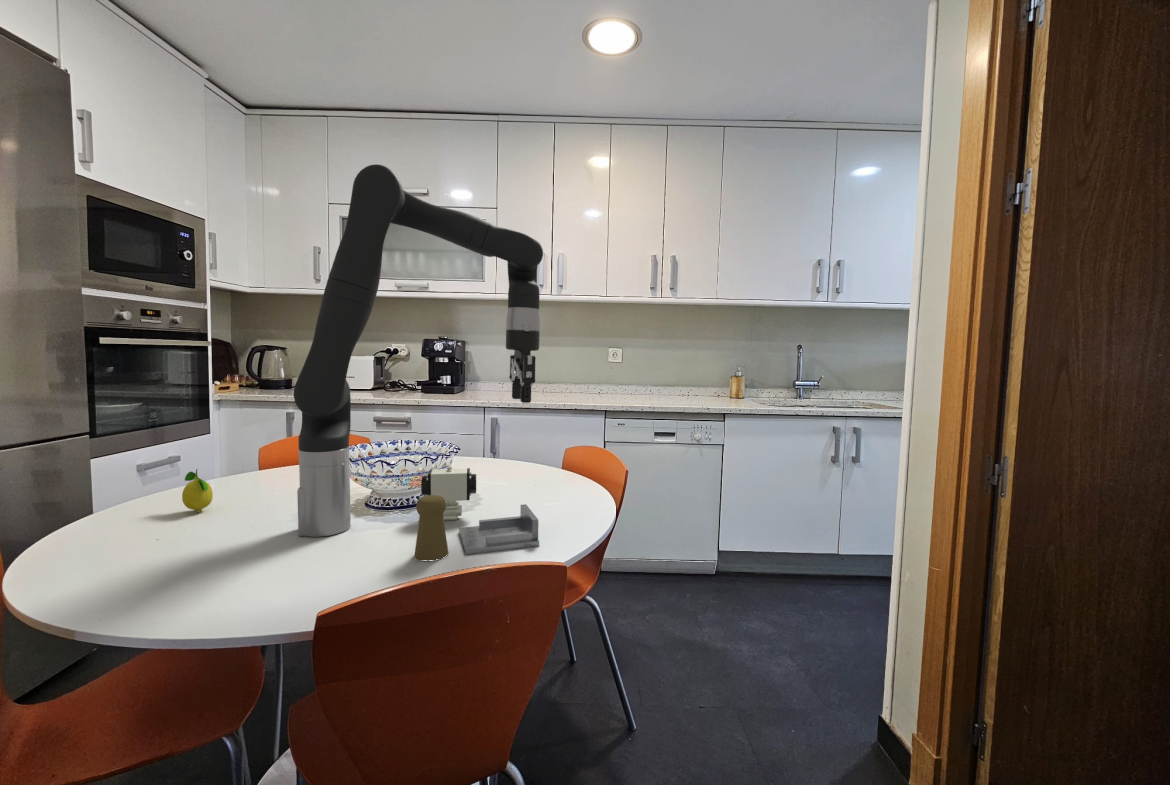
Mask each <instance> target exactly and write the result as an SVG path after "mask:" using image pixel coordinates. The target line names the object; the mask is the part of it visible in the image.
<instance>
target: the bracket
mask: <svg viewBox="0 0 1170 785" xmlns="http://www.w3.org/2000/svg"><path fill="white" fill-rule="evenodd" d="M519 514H520V515H519V516H508V517H498V518H497V517H496V518H487V519H479V520H478V525H475V526H466V527H465V526H464V527H458V534H459V537H460V540H461V543H463V544H462V546H464V547H463V549H465V550H464V553H465V552H466V553H465V555H466V554H468V555H474V554H473V553H477V554H482V553H481V552H485V553H490V552H489V551H493V552H499V551H498V550H502V551H507V550H506V549H510V550H516V549H515V548H518V549H524V548H523V547H527V548H531V547H530V546H535V547H540V540H539V518H538V517H537V516H536V515H535V513H534V512H533V511H532V509H530V507H529V506H528V505H527V504H524V503H523V504H520V513H519Z"/></svg>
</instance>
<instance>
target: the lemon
mask: <svg viewBox="0 0 1170 785" xmlns="http://www.w3.org/2000/svg"><path fill="white" fill-rule="evenodd" d="M184 481H186V482H188V483H187V484H186V485H185V487H184V488H183V490H182V495H181V499H182V503H183V505H184V506H185V507H186V508H187V509H190V510H193V511H194V512H196V511H200V512H201V511H202V510H203V509H205V508H207V507H208V506H209V505H210V504H211V503H212V502H213V501H212V500H213V496H214V494H213V489H212V486H211V485H210V483H208V482H207V481H205V480H203V479H202V478H199V477H198V468H196V469H195V472H194V471H189V472H188V473H186V475H185V477H184Z"/></svg>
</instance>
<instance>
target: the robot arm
mask: <svg viewBox="0 0 1170 785" xmlns="http://www.w3.org/2000/svg"><path fill="white" fill-rule="evenodd" d="M349 202H350V204H349V207H348V208H349V209H348V214H347V220H346V224H345V227H344V228H345V229H344V232H343V234H342V237H341V240H340V241H339V242H340V243H339V245H338V248H337V250H336V253H335V256H334V258H333V259H334V260H333V262H332V266H331V268H330V271H329V275H328V279H327V280H326V285H325V288H324V291H323V294H322V299H321V302H320V307H319V311H318V314H317V315H318V316H317V320H316V325H315V328H314V333H313V335H314V336H313V339H312V343H311V345H310V349H309V351H308V353H307V356H306V359H305V361H304V364H303V366H302V368H301V370H300V373H299V375H298V377H297V380H296V382H295V384H294V388H293V399H294V403H295V405H296V406H297V408H298V409H299V411H300V412H301V427H300V428H301V429H300V432H299V435H298V444H297V445H298V472H299V487H298V488H297V492H296V493H297V496H296V497H297V526H298V527H297V528H298V530H297V531H298V532H297V533H298V537H303V536H304V537H313V538H318V537H319V538H320V537H328V536H333V535H337V534H340V533H343V532H346V531H347V530H349V529H350V528H351V517H352V516H351V482H350V481H351V473H350V469H351V467H350V435H351V419H352V418H351V406H352V405H351V389H350V385H349V382H348V381H347V376H348V375H347V374H348V370H349V366H350V363H351V362H350V361H351V358H352V355H353V352H354V349H355V347H356V345H357V343H358V342H359V340H360V337H361V335H362V334H363V332H364V330H365V327H366V326H367V323H368V321H369V319H370V316H371V314H372V311H373V308H374V305H375V301H376V298H377V294H378V291H379V287H380V286H379V285H380V280H381V273H382V262H383V253H384V252H383V248H384V242H385V240H386V236H387V233H388V230H389V227H390V225H391V224H392V225H396V226H403V227H406V228H410V229H412V230H417V231H419V232H424V233H426V234H429V235H432V236H433V237H434V236H435V237H437V238H439V239H442V240H445V241H447V242H449V243H452V244H455V245H457V246H460V247H461V248H464V249H466V250H468V251H472V252H474V253H476V254H479V255H482V256H485V257H488V258H493V257H496V258H498V259H500V260H504V261H506V262H507V278H508V293H507V311H506V320H505V322H506V323H505V325H506V326H505V349H506V350H507V351H508V350H509V351H514V354H510V356H509V358H510V360H509V376H508V377H509V380H510V382H511V383H512V384H511V398H512V400H513V399H514V400H520V402H521V403H523V404H529V403H531V402H532V386H533V385H534V384H535V383H536V355H532V354H531V351H533V352H537V351H539V350H540V335H541V334H540V332H541V331H540V328H541V327H540V326H541V318H540V317H541V316H540V287H539V285H538V266H539V264H541V262H542V260H543V257H544V249H543V246H542V245H541V243H540V242H539V240H537V239H536V238H534V237H533V236H531V235H529V234H527V233H524V232H521V231H516V230H513V229H509V228H505V227H502V226H501V227H500V226H498V225H495V224H494V223H492V222H489V221H487V220H485V219H483V218H480V217H478V216H475V215H473V214H470V213H468V212H463V211H461V210H460V211H459V210H456V209H452V208H445V207H442V206H438V205H435V204H432V203H429V202H427V201H425V200H422V199H420V198H418V197H416V196H415V195H413V194H411V193H410V192H408V191H406V190H405V189H404V188H403V185H402V182H401V181H400V180H399V178H398V176H397V175H396V173H395V172H394V171H393V170H391V169H390V168H389V167H387V166H385V165H382V164H370V165H366V166H365V167H364V168H362V169H361V170H360V171H358V173H357V175H356V176H355V178H354V180H353V184H352V190H351V198H350V201H349Z"/></svg>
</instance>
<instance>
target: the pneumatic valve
mask: <svg viewBox="0 0 1170 785" xmlns="http://www.w3.org/2000/svg"><path fill="white" fill-rule="evenodd" d="M420 484H421V485H420V486H421V487H420V488H421V490H420V491H421V496H422V497H423V496H427V495H439V496H442V497H443V498H444V499H445V502H446V508H445V511H444V513H443V518H444V522H445V521H446V522H447V521H457V520H459V517H461V516H462V514H463V506H462V505H461V504H460V503H459V501H462V502H463V501H470V500H471V496H472V495H473V494H474V495H475V494H477V474H476V473H472V472H471V468H470V467H467V468H466V467H465V468H453V467H452V465H450V466H449V465H447V468H433V469H432V468H431V469H429V471H428V473H427V475H422V477H421V482H420ZM459 504H460V505H459Z"/></svg>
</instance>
